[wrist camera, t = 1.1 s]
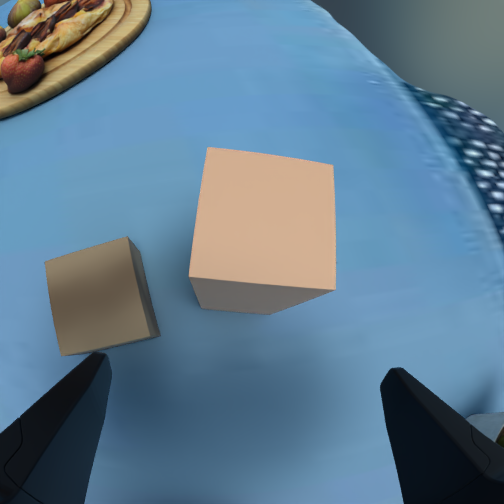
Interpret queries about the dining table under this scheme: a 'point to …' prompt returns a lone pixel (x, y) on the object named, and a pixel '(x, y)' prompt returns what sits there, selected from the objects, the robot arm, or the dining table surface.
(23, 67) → the wooden plate with food
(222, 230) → the peach block
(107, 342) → the walnut block
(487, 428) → the house plant
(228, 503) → the dining table surface
